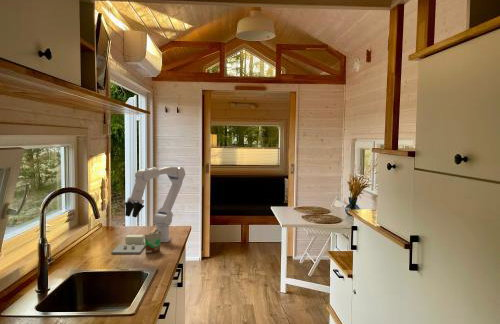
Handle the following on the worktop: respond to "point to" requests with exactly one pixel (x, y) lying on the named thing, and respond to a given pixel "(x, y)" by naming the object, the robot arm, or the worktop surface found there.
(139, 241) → the housing cap
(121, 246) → the stub board
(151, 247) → the food container
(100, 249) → the worktop surface
